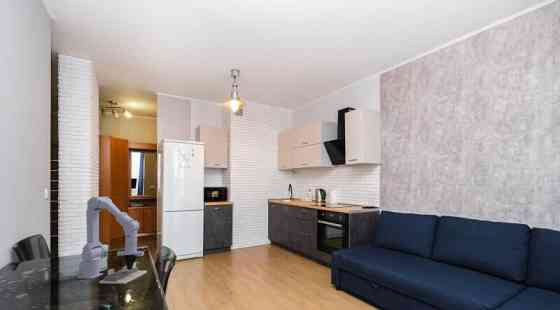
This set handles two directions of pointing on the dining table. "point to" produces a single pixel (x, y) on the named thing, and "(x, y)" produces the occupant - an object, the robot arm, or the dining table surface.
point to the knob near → (111, 271)
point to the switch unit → (123, 276)
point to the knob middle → (125, 269)
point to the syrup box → (104, 259)
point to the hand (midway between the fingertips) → (129, 269)
